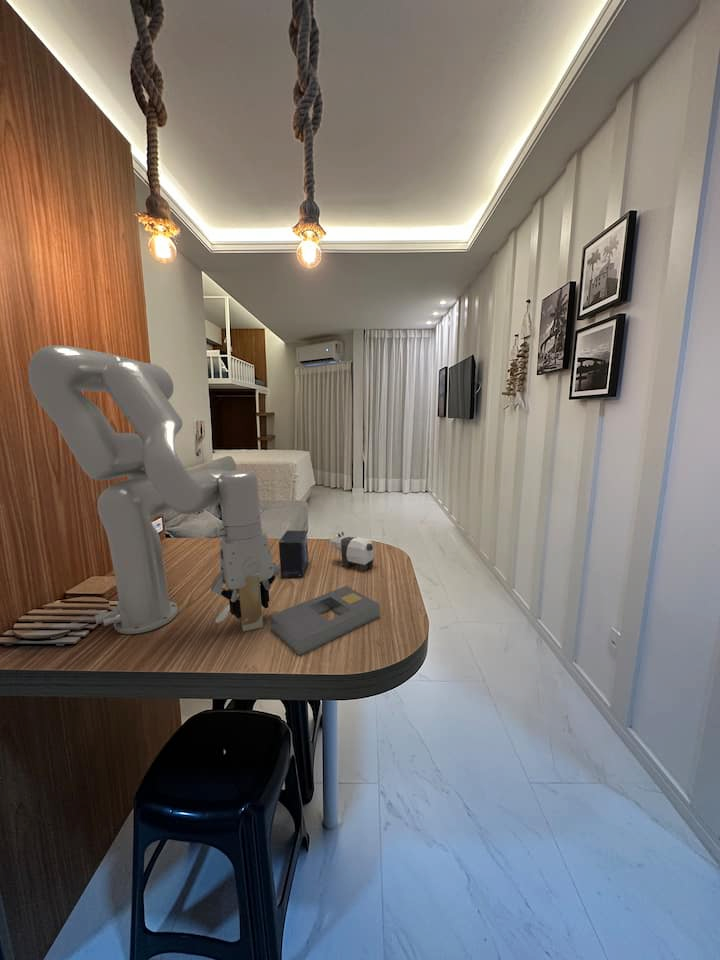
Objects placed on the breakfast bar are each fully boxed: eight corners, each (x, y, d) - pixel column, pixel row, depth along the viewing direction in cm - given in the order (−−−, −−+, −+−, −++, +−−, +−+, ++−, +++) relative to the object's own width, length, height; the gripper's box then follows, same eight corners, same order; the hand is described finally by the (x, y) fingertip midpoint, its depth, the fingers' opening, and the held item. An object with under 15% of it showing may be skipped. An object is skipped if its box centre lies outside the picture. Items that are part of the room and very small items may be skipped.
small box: (304, 578, 103) (301, 541, 102) (280, 578, 104) (277, 542, 102) (309, 562, 114) (307, 529, 112) (288, 563, 114) (285, 530, 112)
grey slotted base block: (299, 655, 70) (298, 640, 70) (270, 629, 79) (269, 615, 79) (379, 616, 82) (379, 603, 82) (346, 597, 92) (346, 585, 91)
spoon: (258, 586, 100) (257, 580, 100) (220, 630, 80) (219, 623, 80) (243, 586, 101) (242, 580, 101) (202, 630, 81) (201, 623, 80)
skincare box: (240, 617, 84) (235, 566, 82) (260, 613, 86) (255, 562, 83) (242, 633, 78) (236, 577, 76) (264, 628, 80) (259, 573, 78)
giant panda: (377, 566, 109) (376, 535, 107) (367, 573, 104) (366, 540, 103) (337, 557, 117) (335, 528, 115) (326, 563, 113) (324, 533, 111)
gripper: (206, 544, 70) (216, 633, 73) (288, 524, 81) (294, 603, 84) (194, 535, 76) (204, 618, 79) (272, 518, 86) (278, 592, 90)
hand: (250, 610), depth 81 cm, fingers closed on skincare box, 5 cm apart
